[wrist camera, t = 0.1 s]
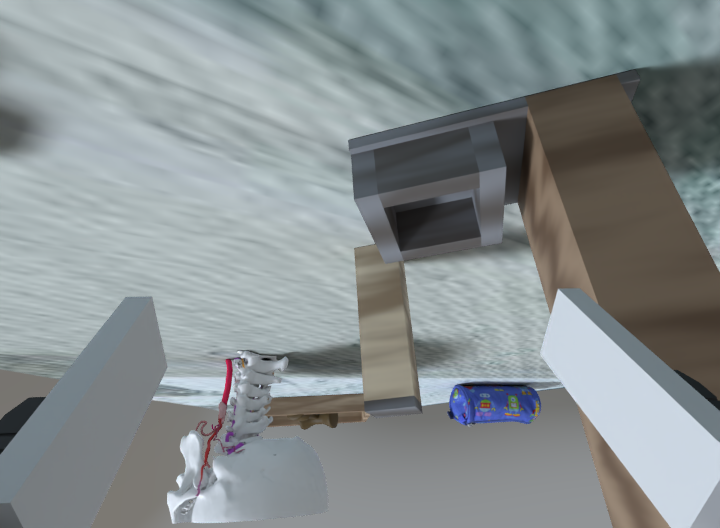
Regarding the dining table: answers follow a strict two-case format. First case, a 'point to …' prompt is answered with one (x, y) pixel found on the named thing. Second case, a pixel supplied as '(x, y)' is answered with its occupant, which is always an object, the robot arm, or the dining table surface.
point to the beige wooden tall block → (385, 336)
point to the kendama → (315, 419)
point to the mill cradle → (317, 408)
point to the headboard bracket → (559, 224)
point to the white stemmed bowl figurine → (248, 459)
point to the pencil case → (493, 404)
